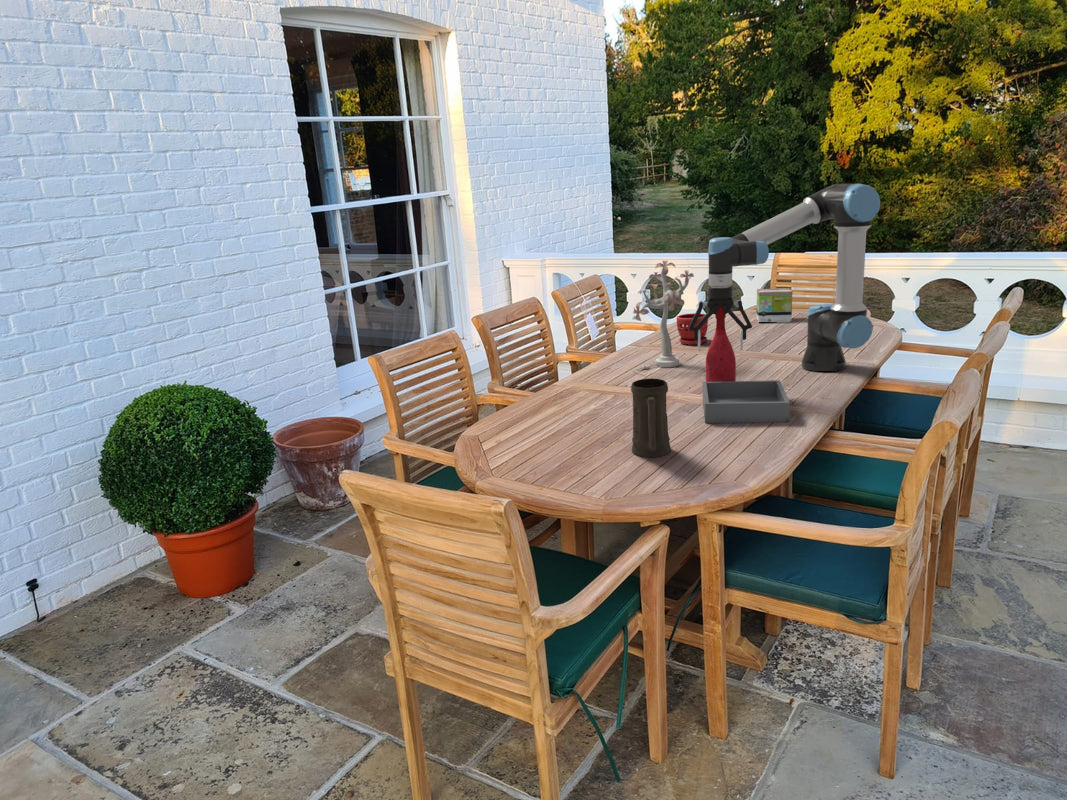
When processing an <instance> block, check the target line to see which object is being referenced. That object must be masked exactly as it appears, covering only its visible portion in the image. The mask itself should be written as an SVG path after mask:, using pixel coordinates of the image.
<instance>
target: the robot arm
mask: <svg viewBox="0 0 1067 800" xmlns="http://www.w3.org/2000/svg"><path fill="white" fill-rule="evenodd" d="M880 208H881V200H880V195H879V193H878V191H877V190H876V189H875V188H874V187H873V186H871V185H868V184H862V183H835V184H833V185H830V186H829V185H828V186H827V187H824V188H823V189H820V190H819V191H817V192H815V193H813V194H811V195H808V196H807V197H805V198H803V201H802V202H801V203H799V204H797V205H795V206H793V207H791V208H790V209H787V210H785V211H783V212H781V213H779V214H777V215H775V216H774V217H772V218H769V219H767V220H765V221H763V222H761V223H759V224H757V225H755V226H753V227H751V228H749V229H747V230H745V231H742V232H741V233H739V234H736V235H735V236H732V237H725V236H724V237H712V238H711V239H710V240H709V241H708V242H709V243H708V251H707V254H708V286H709V287H708V300H707V301H702V300H700V301H698V307H697V309H696V310H695V311H696V312H695V315H694V317H693V319H692V321H691V323H690V325H689V329H690V330H693V331H694V339H695V341H698V344H697V352H701V344H700V330H699V329H700V328H701V327H702V326H703V324H704V323H705V322H706V321H707V320H708V321H709V319H710V318H711V317H712V315H714V316H715V315H717V309H718V306H723V308H724V315H727V314H728V315H729V316H730V317H731V318H732V319H733V320H734V322H735V323H736V324H737V325H738V326H739V327H740V329H739V351H743V345H744V341H745V340H746V339H747V331H748V330H750V329H752V328H753V326H752V323H751V321H750V319H749V317H748V315H747V313H746V311H745V309H744V307H743V301H742V300H741V299H738V300H733V287H732V285H733V268H734V267H742V266H744V267H745V266H757V265H762V264H766V262H767V261H768V259H769V253H770V252H769V251H770V250H769V246H768V245H770V244H772V243H774V242H776V241H778V240H780V239H782V238H784V237H786V236H788V235H790V234H792V233H794V232H796V231H798V230H800V229H803V228H804V227H806V226H808V225H811V224H815V225H817V224H819V223H822V222H824V221H828V220H833V228H834V229H836V230H837V232H838V236H837V237H838V239H837V256H836V258H837V262H836V279H835V280H836V281H835V282H836V283H835V301H834V302H835V303H822V304H814V305H811V306H810V307H809V308H808V311H807V316H806V317H807V333H806V334H807V337H806V339H807V340H806V341H807V343H806V345H807V346H806V349H805V350H804V354H803V356H802V359H801V368H802V367H803V368H804V369H803V368H802V369H803V370H806V369H807V370H806V371H810V370H812V371H811V372H816V371H834V372H837V371H836V370H840V371H842V370H841V369H843V368H845V367H846V365H847V361H846V357H845V355H844V352H843V348H845V349H846V348H847V349H853V350H854V349H858V348H860V347H863V346H864V345H865V344H866V343H867V342H868V341H869V340H870V339H871V337H872V334H873V330H874V327H873V323H872V321H871V320H870V319H869V317H867V314H868V312H867V311H868V307H867V306H866V305H865V304H864V303H863V299H864V298H863V297H864V279H865V278H864V277H865V264H866V263H865V261H866V247H867V246H866V242H867V232H868V230H869V229H870V228H871V227H872V225H873V224H872V223H873V219H874V218H875V217H876V215H877V214H878V213H879V212H880V211H879V210H880ZM706 306H707V308H708V309H709V310H708V311H707V313H705V314H706V315H705V316H704V317H703V318H702V320H701V321H700V322H699V323H698V324H697V325H696V327H695V326H694V325H695V323H696V321H697V319H698V317H699V315H700V313H701V312H702V310H703V309H705V308H706ZM733 306H735V307H736V308H738V309H739V312H740V313H741V316H742V318H743V320H744V322H745V324H744V323H743V321H741V319H739V317H738V316H737V315H736V313H734V312H733V310H732V308H733ZM701 314H702V313H701ZM846 368H847V367H846ZM846 368H845V369H846ZM843 370H844V369H843Z"/></svg>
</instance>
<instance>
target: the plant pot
mask: <svg viewBox="0 0 1067 800" xmlns="http://www.w3.org/2000/svg"><path fill="white" fill-rule="evenodd" d="M695 313H696V312H695ZM695 313H694V312H693V313H684V314H679V315H677V316H676V329H677V332H678V335H679V336H680V337H679V342H680V343H681V344H683V345H687V344H688V345H689V346H690V345H691V346H692V345H693V346H694V345H695V346H696V345H698V341H695V339H694V331H693V330H690V329H689V325H690V323H691V321H692V319H693V317H694V315H695ZM706 314H707V313H700V315H699V317H698V319H697V321H696V323H695V325H694V326H695V327H696V325H697V324H698V323H699V322H700V321H701V320H702V318H703V317H704V316H705V315H706ZM708 322H709V319H708V320H707V321H706V322H705V323H704V324H703V326H702V327H701V328H700V329H699V330H700V345H702V344H704V343H705V342H706V341H707V340H708V337H707V336H706V334H707V332H708V329H709V328H708V325H709V323H708Z"/></svg>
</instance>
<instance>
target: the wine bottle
mask: <svg viewBox="0 0 1067 800" xmlns="http://www.w3.org/2000/svg"><path fill="white" fill-rule="evenodd" d="M726 316H727V314H725V315H724V308H723V306H718V309H717V315H715V314H714V317H715V319H716V320H715V321H716V324H715V332H714V335H713V338H712V340H711V343H710V345H709V346H708V349H707V353H706V357H705V382H723V381H737V380H736V378H737V377H736V376H737V365H736V364H737V363H736V355H735V351H734V349H733V345H732V344H731V341H730V340H729V338H728V335H727V334H728V333H727V332H726V324H725V323H726V320H725V319H726Z"/></svg>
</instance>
